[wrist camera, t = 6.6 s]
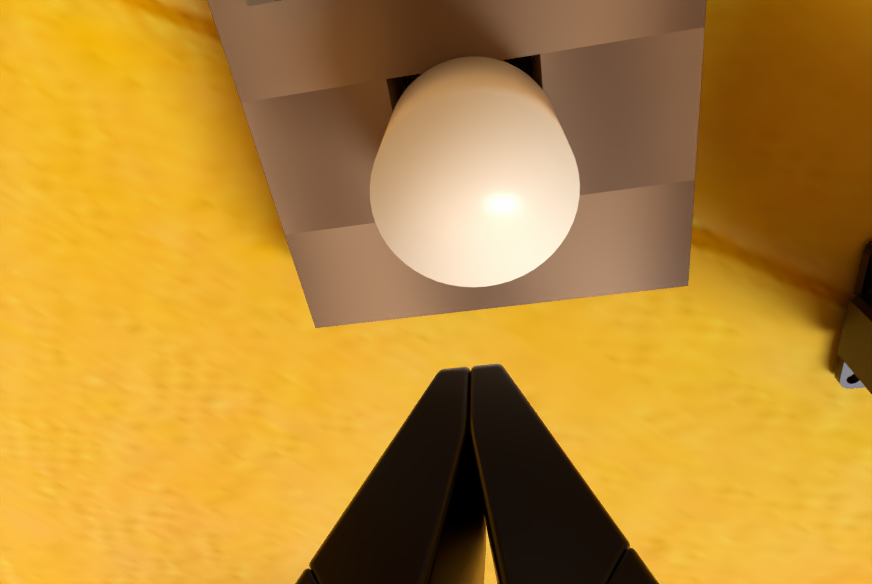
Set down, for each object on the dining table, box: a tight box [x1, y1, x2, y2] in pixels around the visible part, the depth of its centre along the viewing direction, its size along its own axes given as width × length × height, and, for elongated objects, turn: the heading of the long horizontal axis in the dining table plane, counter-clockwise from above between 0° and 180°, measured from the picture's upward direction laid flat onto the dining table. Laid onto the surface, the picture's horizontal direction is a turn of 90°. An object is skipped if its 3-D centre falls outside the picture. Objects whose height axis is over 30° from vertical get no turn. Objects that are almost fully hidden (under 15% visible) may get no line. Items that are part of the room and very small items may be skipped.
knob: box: [370, 56, 580, 287], centre depth 16 cm, size 5×5×6 cm
